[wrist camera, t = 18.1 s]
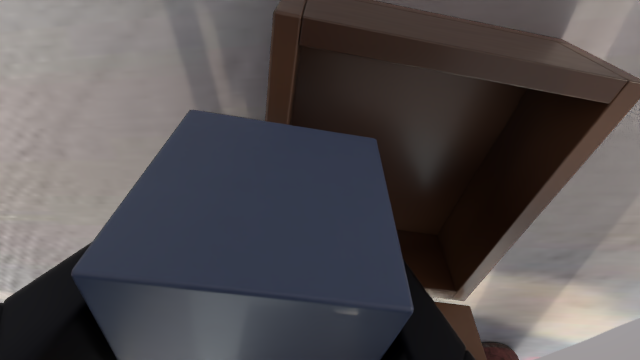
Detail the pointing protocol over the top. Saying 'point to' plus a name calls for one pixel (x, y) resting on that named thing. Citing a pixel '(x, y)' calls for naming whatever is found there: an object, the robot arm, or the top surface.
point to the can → (498, 352)
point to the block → (251, 249)
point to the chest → (447, 120)
